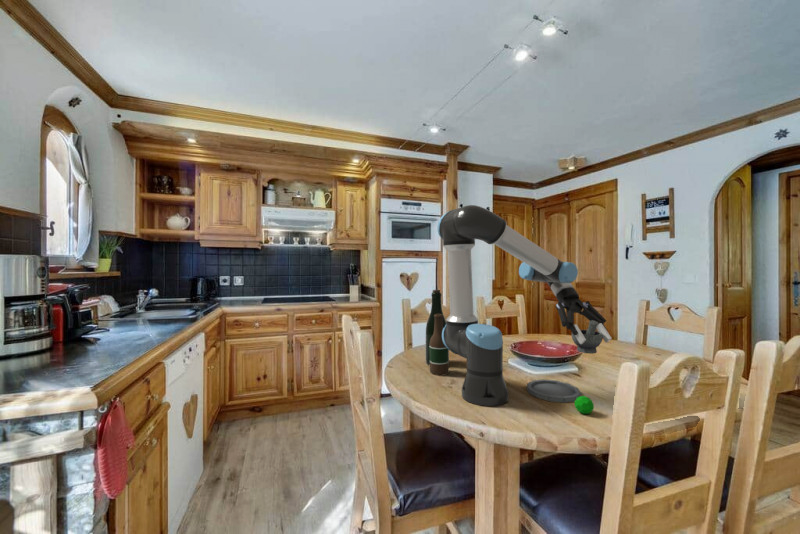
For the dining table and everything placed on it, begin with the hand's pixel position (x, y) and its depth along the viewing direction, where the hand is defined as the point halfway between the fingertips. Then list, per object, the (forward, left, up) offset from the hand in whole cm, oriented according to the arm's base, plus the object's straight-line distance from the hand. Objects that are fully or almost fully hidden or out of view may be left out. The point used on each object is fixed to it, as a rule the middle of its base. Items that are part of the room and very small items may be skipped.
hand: (596, 341), depth 117 cm
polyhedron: (-23, -4, -17) cm, 29 cm away
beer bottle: (-26, +50, -17) cm, 59 cm away
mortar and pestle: (+2, +3, -5) cm, 6 cm away
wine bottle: (-17, +59, -17) cm, 64 cm away
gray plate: (-14, +9, -17) cm, 24 cm away
